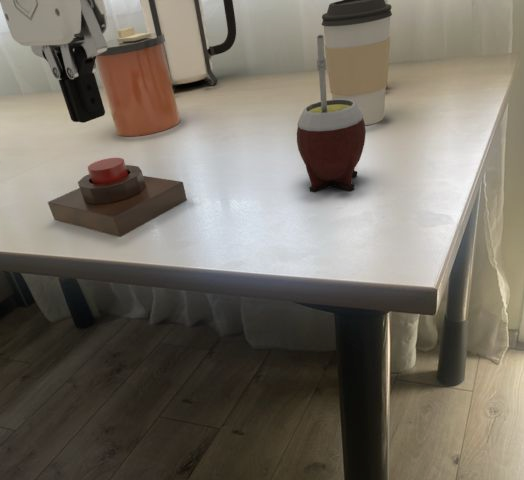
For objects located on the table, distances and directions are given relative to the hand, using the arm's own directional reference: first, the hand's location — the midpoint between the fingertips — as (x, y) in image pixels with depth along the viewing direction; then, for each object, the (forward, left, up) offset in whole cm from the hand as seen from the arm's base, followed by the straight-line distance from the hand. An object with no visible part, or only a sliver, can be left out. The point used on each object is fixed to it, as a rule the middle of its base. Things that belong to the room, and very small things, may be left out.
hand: (89, 118), depth 55 cm
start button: (0, 0, -7) cm, 7 cm away
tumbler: (-26, +28, -10) cm, 39 cm away
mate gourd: (+20, +14, -10) cm, 27 cm away
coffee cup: (+10, +37, -10) cm, 40 cm away
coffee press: (-42, +56, -10) cm, 71 cm away
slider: (-24, +28, +3) cm, 37 cm away
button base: (0, 0, -10) cm, 10 cm away
